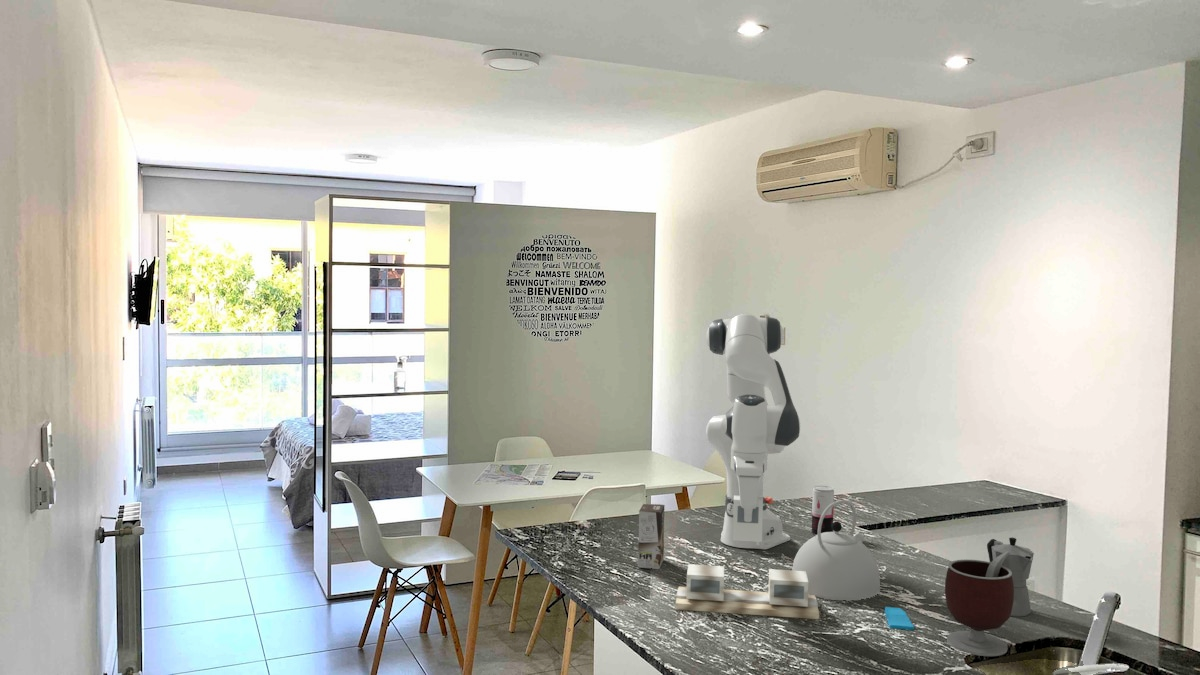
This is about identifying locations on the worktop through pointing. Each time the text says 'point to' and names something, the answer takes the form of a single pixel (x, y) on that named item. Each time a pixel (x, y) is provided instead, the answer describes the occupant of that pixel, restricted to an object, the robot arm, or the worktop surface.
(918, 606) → the worktop surface
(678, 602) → the rail board
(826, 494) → the beverage can
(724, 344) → the robot arm
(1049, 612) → the worktop surface
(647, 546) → the coffee box
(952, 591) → the mate gourd
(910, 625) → the sponge
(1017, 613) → the coffeepot
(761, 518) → the block
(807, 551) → the kettle
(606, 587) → the worktop surface
